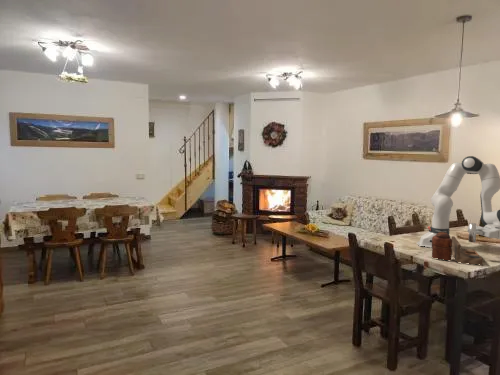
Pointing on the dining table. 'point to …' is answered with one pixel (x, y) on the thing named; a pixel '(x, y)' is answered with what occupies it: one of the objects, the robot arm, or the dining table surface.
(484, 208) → the robot arm
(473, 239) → the peg
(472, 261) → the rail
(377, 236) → the dining table surface
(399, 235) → the dining table surface
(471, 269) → the dining table surface
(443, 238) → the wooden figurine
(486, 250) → the dining table surface
